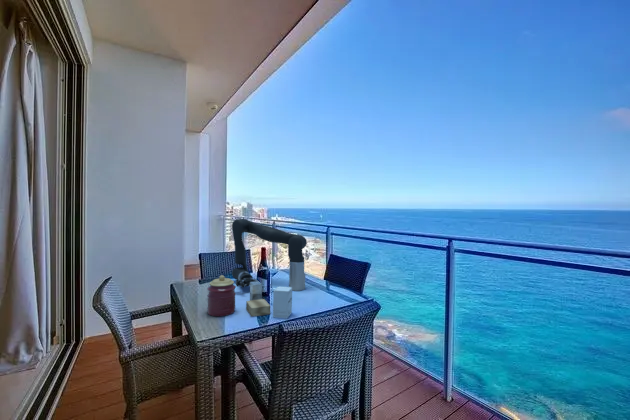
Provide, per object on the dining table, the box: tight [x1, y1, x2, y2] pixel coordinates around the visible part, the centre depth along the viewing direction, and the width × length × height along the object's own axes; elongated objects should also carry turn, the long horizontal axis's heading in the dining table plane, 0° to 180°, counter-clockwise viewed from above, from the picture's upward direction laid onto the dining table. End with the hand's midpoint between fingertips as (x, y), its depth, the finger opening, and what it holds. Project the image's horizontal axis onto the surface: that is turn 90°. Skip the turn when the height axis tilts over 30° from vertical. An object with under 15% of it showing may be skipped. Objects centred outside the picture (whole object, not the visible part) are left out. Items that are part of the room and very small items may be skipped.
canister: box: [206, 274, 237, 317], centre depth 141 cm, size 13×13×18 cm
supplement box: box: [272, 286, 293, 320], centre depth 139 cm, size 7×7×13 cm
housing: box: [249, 281, 263, 301], centre depth 157 cm, size 5×6×10 cm
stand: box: [245, 298, 271, 318], centre depth 143 cm, size 9×11×4 cm
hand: (251, 285), depth 167 cm, fingers open, 8 cm apart
